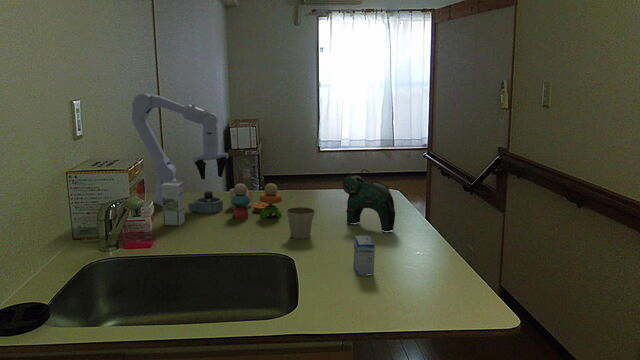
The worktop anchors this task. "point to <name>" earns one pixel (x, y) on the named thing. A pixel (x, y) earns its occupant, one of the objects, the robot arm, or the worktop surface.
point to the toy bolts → (263, 208)
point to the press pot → (206, 205)
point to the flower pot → (300, 221)
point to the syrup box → (173, 203)
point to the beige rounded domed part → (235, 194)
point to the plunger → (208, 195)
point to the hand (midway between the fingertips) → (211, 177)
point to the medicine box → (364, 255)
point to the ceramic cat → (369, 200)
